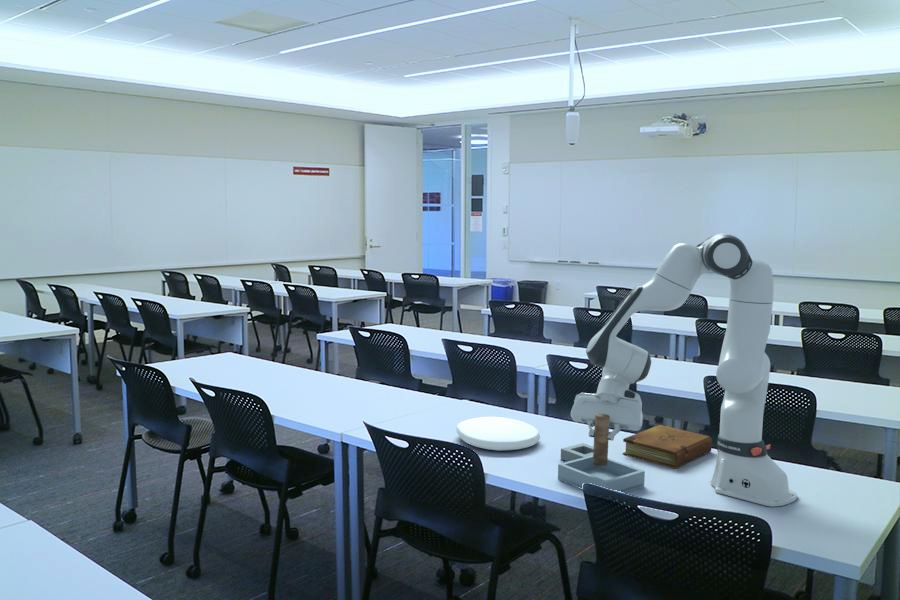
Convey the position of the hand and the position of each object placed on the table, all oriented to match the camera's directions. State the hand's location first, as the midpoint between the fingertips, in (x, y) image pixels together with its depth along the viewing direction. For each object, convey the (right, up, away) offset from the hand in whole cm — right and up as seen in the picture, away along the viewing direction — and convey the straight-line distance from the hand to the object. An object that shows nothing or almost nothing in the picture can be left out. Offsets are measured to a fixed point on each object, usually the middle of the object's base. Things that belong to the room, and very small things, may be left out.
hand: (600, 437), depth 207 cm
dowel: (0, -8, +1) cm, 8 cm away
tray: (0, -13, +2) cm, 13 cm away
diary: (+27, -11, +29) cm, 41 cm away
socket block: (-1, -11, +21) cm, 23 cm away
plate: (-27, -9, +40) cm, 49 cm away
